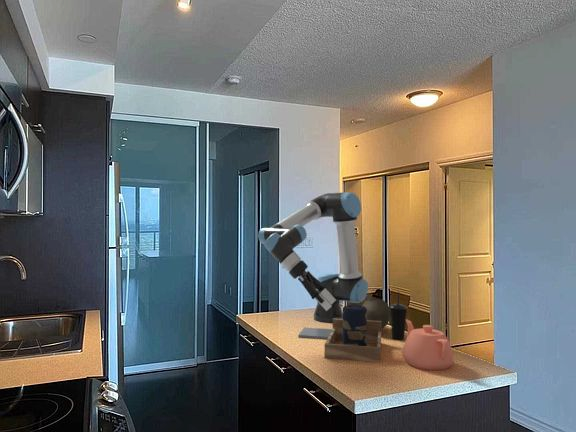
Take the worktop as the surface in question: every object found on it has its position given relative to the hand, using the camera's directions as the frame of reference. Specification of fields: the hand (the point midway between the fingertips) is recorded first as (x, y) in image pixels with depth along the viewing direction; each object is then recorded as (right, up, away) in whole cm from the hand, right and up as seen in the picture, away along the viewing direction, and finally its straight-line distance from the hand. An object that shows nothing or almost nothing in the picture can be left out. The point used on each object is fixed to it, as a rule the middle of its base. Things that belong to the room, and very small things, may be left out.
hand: (331, 305), depth 174 cm
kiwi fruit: (+23, -18, +28) cm, 40 cm away
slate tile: (-4, -17, +22) cm, 28 cm away
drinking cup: (+30, -18, +16) cm, 39 cm away
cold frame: (+9, -17, -2) cm, 19 cm away
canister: (+9, -17, -2) cm, 19 cm away
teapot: (+32, -17, -16) cm, 40 cm away
